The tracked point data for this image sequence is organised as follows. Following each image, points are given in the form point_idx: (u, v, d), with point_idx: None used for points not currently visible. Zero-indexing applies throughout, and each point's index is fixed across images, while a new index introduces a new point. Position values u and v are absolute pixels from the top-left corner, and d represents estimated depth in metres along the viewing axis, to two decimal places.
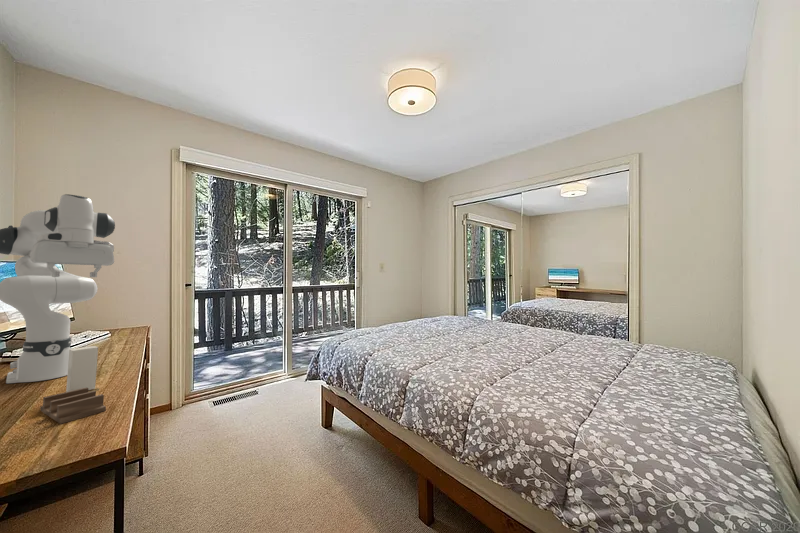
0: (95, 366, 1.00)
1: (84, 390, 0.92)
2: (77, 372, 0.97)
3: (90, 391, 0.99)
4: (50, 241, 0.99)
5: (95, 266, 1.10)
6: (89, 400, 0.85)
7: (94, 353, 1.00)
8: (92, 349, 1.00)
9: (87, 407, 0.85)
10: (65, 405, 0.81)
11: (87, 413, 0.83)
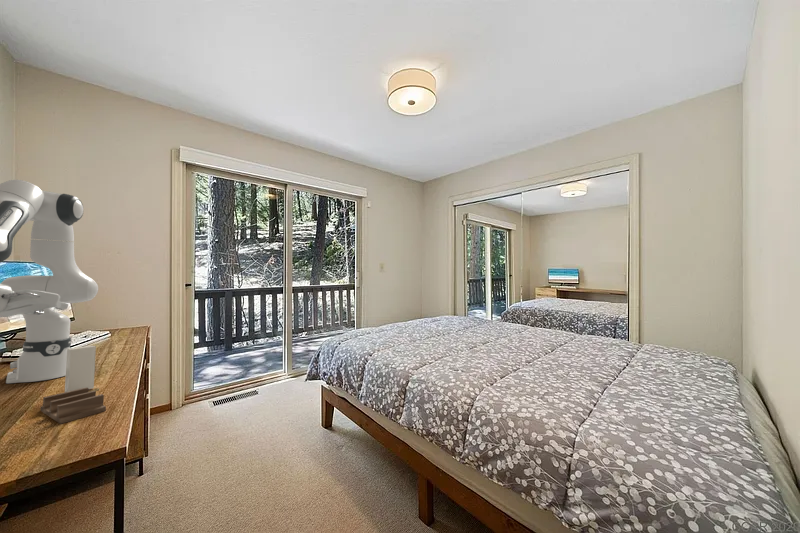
0: (93, 365, 1.01)
1: (84, 390, 0.92)
2: (75, 371, 0.97)
3: (90, 391, 0.99)
4: None
5: None
6: (89, 400, 0.85)
7: (92, 352, 1.01)
8: (90, 348, 1.00)
9: (87, 407, 0.85)
10: (65, 405, 0.81)
11: (87, 413, 0.83)
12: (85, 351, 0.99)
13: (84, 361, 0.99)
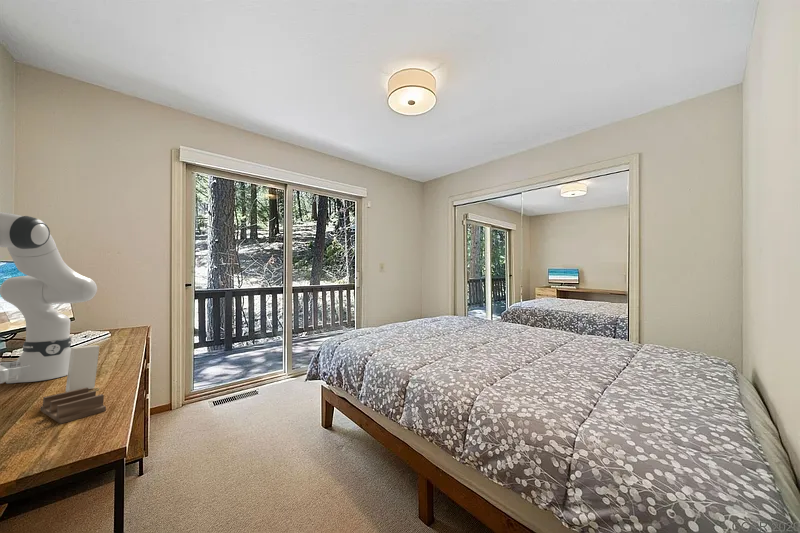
0: (95, 365, 1.01)
1: (84, 390, 0.92)
2: (77, 371, 0.97)
3: (90, 391, 0.99)
4: None
5: None
6: (89, 400, 0.85)
7: (95, 352, 1.01)
8: (93, 348, 1.01)
9: (87, 407, 0.85)
10: (65, 405, 0.81)
11: (87, 413, 0.83)
12: (88, 351, 1.00)
13: (87, 361, 0.99)
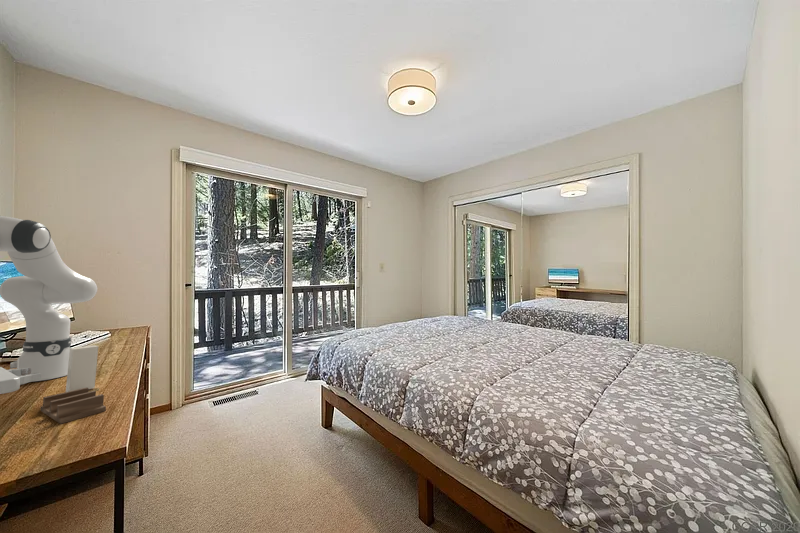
0: (95, 365, 1.01)
1: (84, 390, 0.92)
2: (77, 371, 0.97)
3: (90, 391, 0.99)
4: None
5: None
6: (89, 400, 0.85)
7: (94, 352, 1.01)
8: (92, 348, 1.00)
9: (87, 407, 0.85)
10: (65, 405, 0.81)
11: (87, 413, 0.83)
12: (87, 351, 0.99)
13: (86, 361, 0.99)
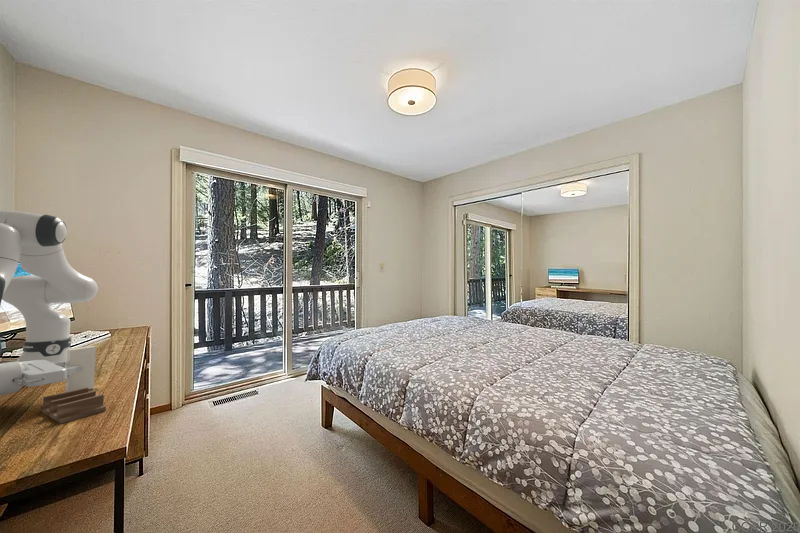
0: (93, 366, 1.00)
1: (84, 390, 0.92)
2: None
3: (90, 391, 0.99)
4: None
5: None
6: (89, 400, 0.85)
7: (92, 353, 1.00)
8: (90, 349, 1.00)
9: (87, 407, 0.85)
10: (65, 405, 0.81)
11: (87, 413, 0.83)
12: (85, 352, 0.99)
13: (84, 362, 0.99)
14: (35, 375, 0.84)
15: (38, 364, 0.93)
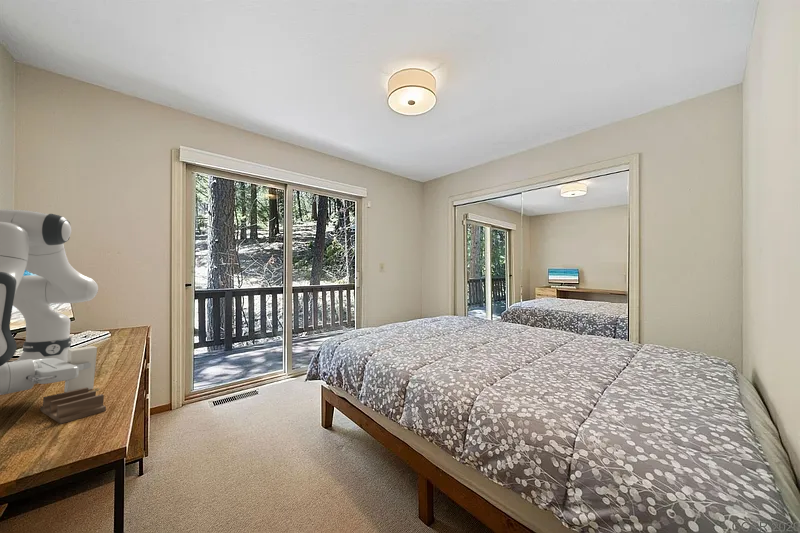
0: (94, 366, 1.00)
1: (84, 390, 0.92)
2: None
3: (90, 391, 0.99)
4: None
5: None
6: (89, 400, 0.85)
7: (93, 353, 1.00)
8: (91, 349, 0.99)
9: (87, 407, 0.85)
10: (65, 405, 0.81)
11: (87, 413, 0.83)
12: (86, 352, 0.98)
13: (85, 362, 0.98)
14: (48, 372, 0.86)
15: (50, 362, 0.95)
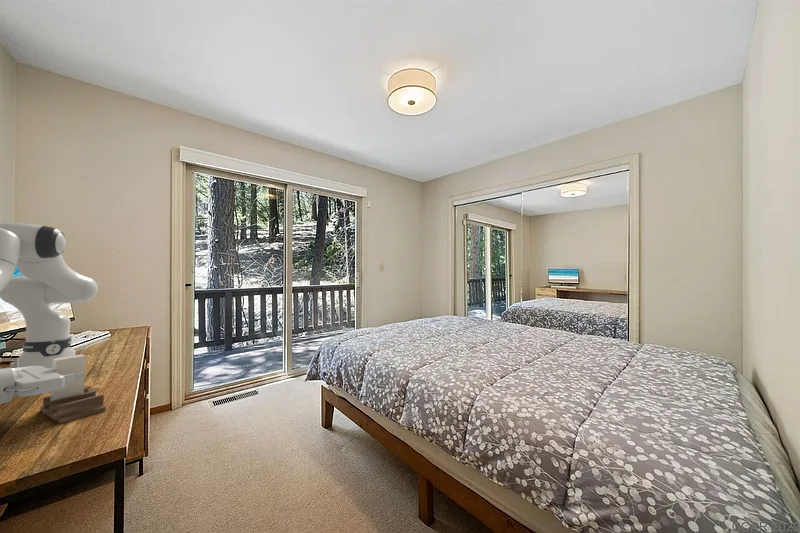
0: (83, 377, 0.89)
1: (84, 390, 0.92)
2: None
3: (91, 390, 0.99)
4: None
5: None
6: (89, 400, 0.85)
7: (81, 362, 0.89)
8: (79, 358, 0.88)
9: (87, 407, 0.85)
10: (65, 405, 0.81)
11: (87, 413, 0.83)
12: (73, 362, 0.87)
13: None
14: (29, 383, 0.75)
15: (33, 371, 0.84)
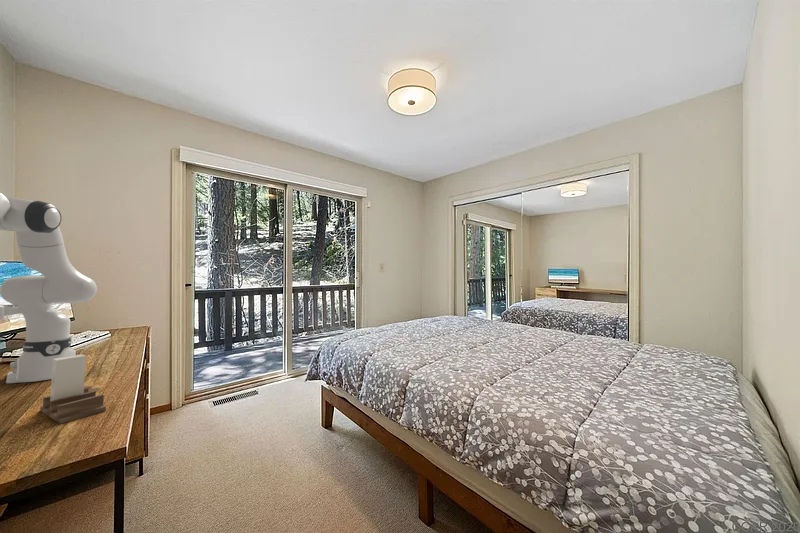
0: (83, 377, 0.89)
1: (84, 390, 0.92)
2: (62, 385, 0.85)
3: (91, 390, 0.99)
4: None
5: None
6: (89, 400, 0.85)
7: (81, 362, 0.89)
8: (79, 358, 0.88)
9: (87, 407, 0.85)
10: (65, 405, 0.81)
11: (87, 413, 0.83)
12: (73, 362, 0.87)
13: (72, 373, 0.87)
14: None
15: None
